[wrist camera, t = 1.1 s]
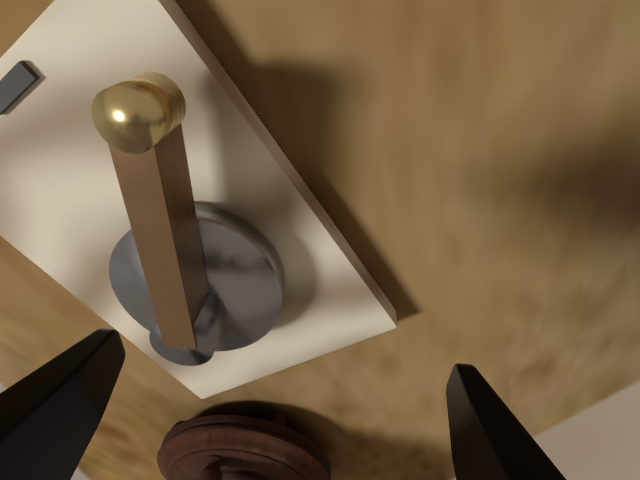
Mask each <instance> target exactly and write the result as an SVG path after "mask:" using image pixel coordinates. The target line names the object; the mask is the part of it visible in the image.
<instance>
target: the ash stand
mask: <svg viewBox="0 0 640 480" xmlns="http://www.w3.org/2000/svg"><path fill="white" fill-rule="evenodd" d="M147 71H153V72H158V73H161V74H163V75H165V76H167V77H169V78H170V79H171V80H172V81H174V82H175V83H176V85H177V86H178V87H179V88H180V90H181V92H182V94H183V96H184V99H185V103H186V114H185V117H184V120H183V121H182V123H181V125H182V131H183V137H184V143H185V149H186V155H187V161H188V167H189V173H190V179H191V186H192V192H193V198H194V203H195V204H203V205H208V206H212V207H216V208H219V209H222V210H225V211H228V212H230V213H232V214H234V215H236V216H238V217H240V218H242V219H243V220H245V221H246V222H248V223H250V224H251V225H252V226H253V227H255V228H256V229H257V230H259V231H260V232H261V233H262V234H263V235H264V236H265V237H266V238H267V240H268V241H269V242H270V243H271V245H272V246H273V247H274V249H275V251H276V252H277V254H278V256H279V258H280V260H281V263H282V266H283V269H284V274H285V290H284V294H283V298H282V302H281V306H280V311H279V315H278V318H277V320H276V322H275V324H274V326H273V327H272V328H271V330H270V331H269V332H268V333H267V334H266V335H265V336H264V337H262V338H261V339H260V340H258V341H257V342H255V343H253V344H251V345H249V346H246V347H243V348H240V349H236V350H230V351H217V352H215V351H214V354H213V356H212V358H211V359H210V360H209V361H208V362H206V363H204V364H202V365H198V366H184V365H179V364H175V363H173V362H170V361H168V360H166V359H165V358H163V357H162V356H160V355H159V354H158V353H157V352H156V351H155V350H154V349H153V347H152V346H151V343H150V340H149V335H150V331H148V330H147V329H146V328H144V327H143V326H141V325H140V324H139V323H138V322H137V321H136V320H134V319H133V318H132V317H131V316H130V315H129V314H128V312H127V311H126V310H125V309H124V308H123V306H122V305H121V304H120V302H119V300H118V299H117V297H116V295H115V293H114V291H113V288H112V286H111V282H110V278H109V261H110V257H111V254H112V251H113V249H114V247H115V246H116V244H117V243H118V242H119V240H120V239H121V238H122V237H123V236H124V235H125V234H126V232H127V231H128V230H129V229H130V228H131V225H130V222H129V218H128V214H127V211H126V207H125V204H124V200H123V196H122V193H121V189H120V186H119V182H118V178H117V175H116V171H115V168H114V164H113V160H112V157H111V153H110V149H109V146H108V143H107V142H106V141H105V140H104V139H103V138H102V137H101V135H100V134H99V132H98V131H97V129H96V127H95V125H94V122H93V119H92V113H91V107H92V103H93V100H94V98H95V96H96V95H97V94H98V93H99V92H100V91H102V90H104V89H106V88H108V87H111V86H113V85H115V84H117V83H120V82H122V81H124V80H126V79H129V78H131V77H133V76H135V75H138V74H140V73H143V72H147ZM0 236H2V237H3V238H4V239H5V240H7V241H8V242H9V243H10V244H11V245H13V246H14V247H15V248H16V249H18V250H19V251H20V252H21V253H23V254H24V255H25V256H26V257H27V258H29V259H30V260H31V261H32V262H34V263H35V264H36V265H37V266H39V267H40V268H41V269H42V270H43V271H45V272H46V273H47V274H48V275H50V276H51V277H52V278H53V279H55V280H56V281H57V282H58V283H59V284H61V285H62V286H63V287H64V288H66V289H67V290H68V291H69V292H71V293H72V294H73V295H74V296H75V297H77V298H78V299H79V300H80V301H82V302H83V303H84V304H85V305H87V306H88V307H89V308H90V309H91V310H93V311H94V312H95V313H96V314H98V315H99V316H100V317H101V318H103V319H104V320H105V321H106V322H107V323H109V324H110V325H111V326H112V327H114V328H115V329H116V330H117V331H119V332H120V333H121V334H122V335H123V336H125V337H126V338H127V339H128V340H130V341H131V342H132V343H133V344H135V345H136V346H137V347H138V348H139V349H141V350H142V351H143V352H144V353H146V354H147V355H148V356H149V357H150V358H152V359H153V360H154V361H155V362H157V363H158V364H159V365H160V366H162V367H163V368H164V369H165V370H166V371H168V372H169V373H170V374H171V375H173V376H174V377H175V378H176V379H178V380H179V381H180V382H181V383H182V384H184V385H185V386H186V387H187V388H189V389H190V390H191V391H192V392H194V393H195V394H196V395H197V396H198V397H200V398H201V399H204V398H207V397H209V396H212V395H215V394H218V393H220V392H223V391H226V390H228V389H231V388H234V387H237V386H239V385H242V384H245V383H248V382H250V381H253V380H256V379H258V378H261V377H264V376H267V375H269V374H272V373H275V372H278V371H280V370H283V369H286V368H288V367H291V366H294V365H297V364H299V363H302V362H305V361H308V360H310V359H313V358H316V357H318V356H321V355H324V354H327V353H329V352H332V351H335V350H337V349H340V348H343V347H346V346H348V345H351V344H354V343H357V342H359V341H362V340H365V339H367V338H370V337H373V336H376V335H378V334H381V333H384V332H387V331H389V330H392V329H395V328H397V319H396V310H395V308H394V307H393V306H392V304H391V303H390V301H389V300H388V298H387V297H386V296H385V294H384V293H383V291H382V290H381V289H380V287H379V286H378V284H377V283H376V282H375V280H374V279H373V277H372V276H371V275H370V273H369V272H368V270H367V269H366V268H365V266H364V265H363V263H362V262H361V261H360V259H359V258H358V256H357V255H356V254H355V252H354V251H353V249H352V248H351V247H350V245H349V244H348V242H347V241H346V240H345V238H344V237H343V235H342V234H341V233H340V231H339V230H338V228H337V227H336V226H335V224H334V223H333V221H332V220H331V219H330V217H329V216H328V214H327V213H326V211H325V210H324V209H323V207H322V206H321V204H320V203H319V202H318V200H317V199H316V197H315V196H314V195H313V193H312V192H311V190H310V189H309V188H308V186H307V185H306V183H305V182H304V181H303V179H302V178H301V176H300V175H299V174H298V172H297V171H296V169H295V168H294V167H293V165H292V164H291V162H290V161H289V160H288V158H287V157H286V155H285V154H284V153H283V151H282V150H281V148H280V147H279V146H278V144H277V143H276V141H275V140H274V139H273V137H272V136H271V134H270V133H269V132H268V130H267V129H266V127H265V126H264V124H263V123H262V122H261V120H260V119H259V117H258V116H257V115H256V113H255V112H254V110H253V109H252V108H251V106H250V105H249V103H248V102H247V101H246V99H245V98H244V96H243V95H242V94H241V92H240V91H239V89H238V88H237V87H236V85H235V84H234V82H233V81H232V80H231V78H230V77H229V75H228V74H227V73H226V71H225V70H224V68H223V67H222V66H221V64H220V63H219V61H218V60H217V59H216V57H215V56H214V54H213V53H212V52H211V50H210V49H209V47H208V46H207V45H206V43H205V42H204V40H203V39H202V38H201V36H200V35H199V33H198V32H197V30H196V29H195V28H194V26H193V25H192V23H191V22H190V21H189V19H188V18H187V16H186V15H185V14H184V12H183V11H182V9H181V8H180V7H179V5H178V4H177V2H176V1H175V0H54V1H53V2H52V4H51V5H50V6H49V7H48V8H47V9H46V10H45V11H44V12H43V13H42V14H41V15H40V16H39V17H38V19H37V20H36V21H35V22H34V23H33V24H32V25H31V26H30V27H29V28H28V29H27V30H26V31H25V32H24V34H23V35H22V36H21V37H20V38H19V39H18V40H17V41H16V42H15V43H14V44H13V45H12V46H11V47H10V49H9V50H8V51H7V52H6V53H5V54H4V55H3V56H2V57H1V58H0Z"/></svg>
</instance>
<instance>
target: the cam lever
mask: <svg viewBox="0 0 640 480" xmlns="http://www.w3.org/2000/svg"><path fill="white" fill-rule="evenodd" d="M91 113H92V119H93V122H94V125H95V127H96V129H97V131H98V132H99V134H100V135H101V137H102V138H103V139H104V140H105V141H106V142H107V143H108V146H109V149H110V153H111V157H112V160H113V164H114V168H115V171H116V175H117V178H118V182H119V186H120V189H121V193H122V196H123V200H124V204H125V207H126V211H127V214H128V218H129V222H130V225H131V228H130V229H129V230H128V231H127V232H126V234H125V235H124V236H123V237H122V238H121V239H120V240H119V242H118V243H117V244H116V246H115V247H114V249H113V251H112V254H111V257H110V261H109V278H110V282H111V286H112V288H113V291H114V293H115V295H116V297H117V299H118V300H119V302H120V304H121V305H122V306H123V308H124V309H125V310H126V311H127V312H128V314H129V315H130V316H131V317H132V318H133V319H134V320H136V321H137V322H138V323H139V324H140V325H141V326H143V327H144V328H146V329H147V330H148V331H150V335H149V340H150V343H151V346H152V347H153V349H154V350H155V351H156V352H157V353H158V354H159V355H160V356H162V357H163V358H165V359H166V360H168V361H170V362H173V363H175V364H179V365H184V366H198V365H202V364H204V363H206V362H208V361H209V360H210V359H211V358H212V356H213V354H214V351H215V352H217V351H230V350H236V349H240V348H243V347H246V346H249V345H251V344H253V343H255V342H257V341H258V340H260V339H261V338H262V337H264V336H265V335H266V334H267V333H268V332H269V331H270V330H271V328H272V327H273V326H274V324H275V322H276V320H277V318H278V315H279V311H280V306H281V302H282V298H283V294H284V290H285V274H284V269H283V266H282V263H281V260H280V258H279V256H278V254H277V252H276V251H275V249H274V247H273V246H272V245H271V243H270V242H269V241H268V240H267V238H266V237H265V236H264V235H263V234H262V233H261V232H260V231H259V230H257V229H256V228H255V227H253V226H252V225H251V224H250V223H248V222H246V221H245V220H243V219H242V218H240V217H238V216H236V215H234V214H232V213H230V212H228V211H225V210H222V209H219V208H216V207H212V206H208V205H203V204H195V203H194V198H193V192H192V186H191V179H190V173H189V167H188V161H187V155H186V149H185V143H184V137H183V131H182V125H181V123H182V121H183V120H184V117H185V114H186V103H185V99H184V96H183V94H182V92H181V90H180V88H179V87H178V86H177V85H176V83H175V82H174V81H172V80H171V79H170V78H169V77H167V76H165V75H163V74H161V73H158V72H153V71H147V72H143V73H140V74H138V75H135V76H133V77H131V78H129V79H126V80H124V81H122V82H120V83H117V84H115V85H113V86H111V87H108V88H106V89H104V90H102V91H100V92H99V93H98V94H97V95H96V96H95V98H94V100H93V103H92V107H91Z"/></svg>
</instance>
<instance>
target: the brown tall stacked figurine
mask: <svg viewBox="0 0 640 480" xmlns="http://www.w3.org/2000/svg"><path fill="white" fill-rule="evenodd" d="M285 425H286V424H285V416H284V413H283V412H282V411H278V412H277V413H276V414H275V416H274V417H273V420H272V422H271V421H267V420H264V419H259V418H254V417H248V416H240V415H209V416H202V417H197V418H193V419H190V420H187V421H185V422H182V423H181V422H178V423H176V424H175V425H174V426H173V427H172V429H171V430H170V431H169V432H168V433H167V435H166V436H165V438H164V440H163V443H162V445H161V448H160V450H159V452H158V457H157V462H158V467H159V469H160V471H161V473H162V475H163V476H164V477H165V479H166V480H331V466H330V462H329V460H328V458H327V456H326V455H325V453H324V452H323V451H322V450H321V449H320V448H319V447H318V446H317V445H316V444H315V443H314V442H312V441H311V440H310V439H308V438H307V437H305V436H304V435H302V434H300V433H298V432H297V431H294V430H292V429H290V428H288V427H285Z"/></svg>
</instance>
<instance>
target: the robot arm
mask: <svg viewBox="0 0 640 480" xmlns="http://www.w3.org/2000/svg"><path fill="white" fill-rule="evenodd" d="M124 360H125V349H124V347H123V344H122V341H121V338H120V335H119V333H118V331H116V330H114V329H104V328H103V329H98V330H96V331H94V332H93V333H91V334H90V335H88V336H87V337H85V338H84V339H82V340H81V341H79V342H78V343H76V344H75V345H73V346H72V347H70V348H69V349H67V350H66V351H64V352H62V353H61V354H59V355H58V356H56V357H55V358H53V359H52V360H50V361H49V362H47V363H46V364H44V365H43V366H41V367H40V368H38V369H37V370H35V371H34V372H32V373H31V374H29V375H28V376H26V377H25V378H23V379H21V380H20V381H18V382H17V383H15V384H14V385H12V386H11V387H9V388H8V389H6V390H5V391H3V392H2V393H0V480H70V479H71V477H72V475H73V473H74V471H75V470H76V468H77V466H78V464H79V462H80V460H81V458H82V456H83V454H84V452H85V450H86V448H87V446H88V444H89V442H90V440H91V439H92V437H93V435H94V433H95V431H96V429H97V427H98V425H99V423H100V421H101V418H102V416H103V414H104V411H105V409H106V406H107V404H108V401H109V399H110V396H111V394H112V391H113V388H114V386H115V383H116V381H117V378H118V376H119V373H120V371H121V368H122V366H123V363H124ZM446 397H447V407H448V418H449V429H450V439H451V450H452V458H453V464H454V470H455V475H456V480H566V479H565V477H563V475H562V474H561V473H560V471H559V470H558V469H557V468H556V466H555V465H554V464H553V463H552V461H551V460H550V459H549V458H548V457H547V455H546V454H545V453H544V452H543V450H542V449H541V448H540V447H539V445H538V444H537V443H536V442H535V440H534V439H533V438H532V437H531V436H530V434H529V433H528V432H527V431H526V429H525V428H524V427H523V426H522V424H521V423H520V422H519V421H518V419H517V418H516V417H515V416H514V415H513V413H512V412H511V411H510V410H509V408H508V407H507V406H506V405H505V403H504V402H503V401H502V400H501V399H500V397H499V396H498V395H497V394H496V392H495V391H494V390H493V389H492V387H491V386H490V385H489V384H488V382H487V381H486V380H485V379H484V378H483V376H482V375H481V374H480V373H479V371H478V370H477V369H476V368H475V367H474V366H473V365H469V364H459V363H458V364H455V365H454V367H453V369H452V372H451V375H450V378H449V380H448V383H447V387H446Z"/></svg>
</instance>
